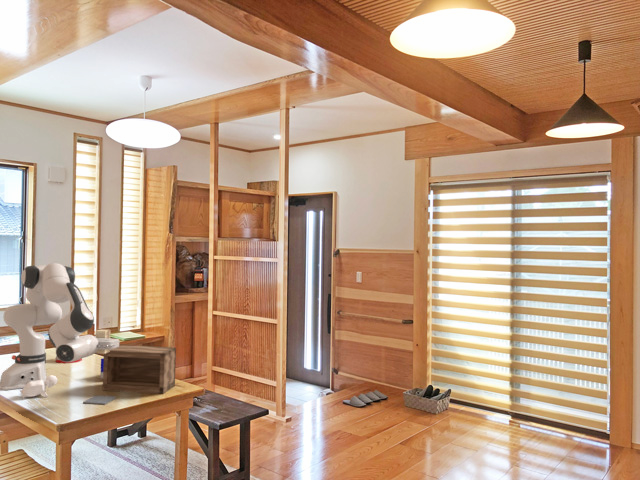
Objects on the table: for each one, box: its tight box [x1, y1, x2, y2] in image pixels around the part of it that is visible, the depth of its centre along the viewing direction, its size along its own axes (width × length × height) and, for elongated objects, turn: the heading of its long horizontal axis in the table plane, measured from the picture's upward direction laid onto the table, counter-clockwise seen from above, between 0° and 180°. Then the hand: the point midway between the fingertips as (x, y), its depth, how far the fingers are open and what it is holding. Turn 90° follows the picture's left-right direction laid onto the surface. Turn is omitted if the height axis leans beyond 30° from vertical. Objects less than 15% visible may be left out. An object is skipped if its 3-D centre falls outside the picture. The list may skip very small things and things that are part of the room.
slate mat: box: [82, 395, 117, 406], centre depth 229 cm, size 10×10×1 cm
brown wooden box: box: [102, 344, 177, 395], centre depth 250 cm, size 14×30×19 cm, turn 84°
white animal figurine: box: [20, 374, 58, 400], centre depth 234 cm, size 9×8×15 cm
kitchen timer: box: [55, 355, 83, 364], centre depth 303 cm, size 14×14×15 cm
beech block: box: [95, 328, 111, 355], centre depth 230 cm, size 4×4×10 cm
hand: (103, 339), depth 230 cm, fingers closed on beech block, 4 cm apart
